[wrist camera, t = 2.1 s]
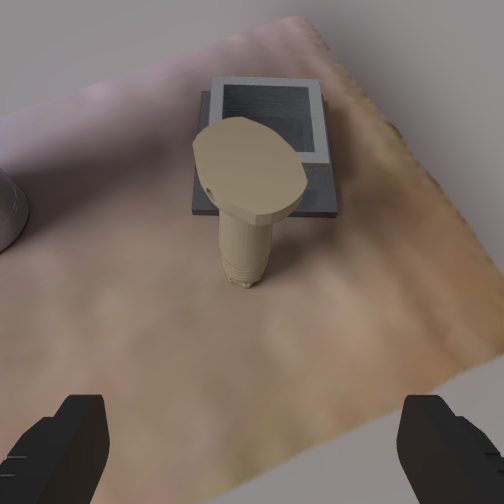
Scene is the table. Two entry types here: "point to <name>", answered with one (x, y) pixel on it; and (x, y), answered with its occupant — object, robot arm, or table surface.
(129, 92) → the table surface
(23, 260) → the table surface
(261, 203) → the handle
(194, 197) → the socket
